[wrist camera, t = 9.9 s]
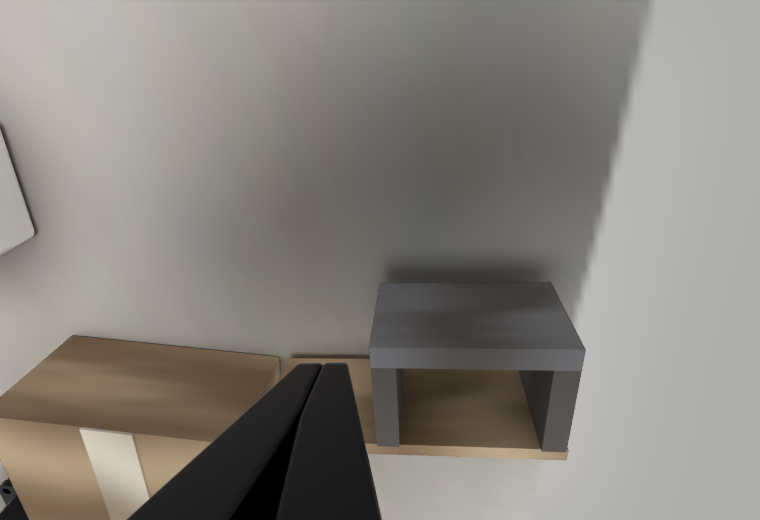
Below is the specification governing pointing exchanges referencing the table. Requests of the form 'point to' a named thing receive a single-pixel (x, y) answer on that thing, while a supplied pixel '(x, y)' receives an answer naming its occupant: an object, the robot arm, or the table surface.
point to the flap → (467, 371)
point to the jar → (11, 206)
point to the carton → (119, 421)
